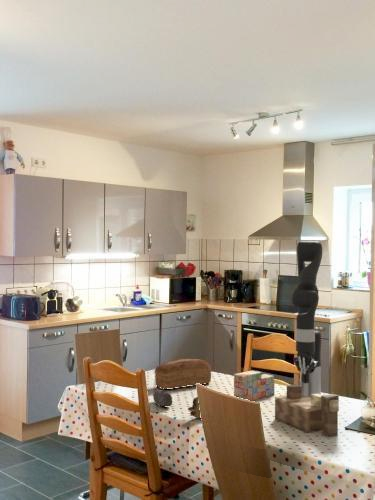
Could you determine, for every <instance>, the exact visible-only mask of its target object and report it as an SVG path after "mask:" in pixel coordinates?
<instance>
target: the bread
mask: <svg viewBox="0 0 375 500" xmlns="http://www.w3.org/2000/svg"><path fill="white" fill-rule="evenodd" d="M154 377H155V378H154V380H155V386H156V385H157V386H158V387H157V386H156V387H157V388H159V387H161V388H164V389H167V388H175V387H182V386H187V385H195V384H196V383H200V384H204V383H208V384H210V383H211V381H212V380H211V379H212V367H211V365H210V364H209V363H208V362H207V361H206V360H203V359H201V358H198V359H197V358H180V359H179V358H178V359H176V360H171V361H167V362H164V363H161V364H159V365H157V366H156V367H155V370H154ZM209 382H210V383H209ZM204 385H205V384H204ZM164 389H163V390H164Z"/></svg>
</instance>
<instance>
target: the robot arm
mask: <svg viewBox="0 0 375 500" xmlns="http://www.w3.org/2000/svg"><path fill="white" fill-rule="evenodd" d="M322 258H323V244H322V243H321V242H320V241H316V240H314V241H313V240H301V241H299V242H297V246H296V262H297V263H296V264H297V286H296V287H295V289H294V290H293V293H292V296H291V303H292V305H293V307H295V308H297V315H296V329H295V330H296V331H295V351H296V352H297V353H296V356H295V357H293V359H292V360H293V363H294V364H295V367H296V368H297V371H298V372H299V375H300V377H299V378H300V379H299V381H298V385H300V386H302V395H304V396H307V397H309V398H311V394H315V393H317V394H320V395H322V390H321V389H322V388H321V387H322V381H321V380H322V379H321V377H322V375H321V374H322V371H321V369H322V367H321V365H322V364H321V363H322V361H321V360H322V358H321V356H322V355H321V353H322V352H321V351H322V334H321V331H319V330H315V316H316V315H315V314H316V310H317V307H318V305H319V299H320V297H319V288H318V286H317V285H316V284H317V276H318V273H319V269H320V267H321V264H322V263H321V262H322ZM307 262H308V263H309V264H307V266H306V263H307Z"/></svg>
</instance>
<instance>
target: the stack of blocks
mask: <svg viewBox="0 0 375 500" xmlns="http://www.w3.org/2000/svg"><path fill="white" fill-rule="evenodd" d="M233 380H234V381H233V397H234V396H236V397H239V398H243V399H248V400H251V401H254V399H255V400H258V399H257V398H259V399H261V398H260V397H263V398H265V397H264V396H267V397H270V396H269V395H271V396H273V395H272V394H274V395H275V376H274V375H272V374H266V373H263V374H262V372H261V371H256V370H248V371H243V372H239V373H234V374H233Z"/></svg>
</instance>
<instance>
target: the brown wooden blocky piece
mask: <svg viewBox="0 0 375 500" xmlns="http://www.w3.org/2000/svg"><path fill="white" fill-rule="evenodd" d="M322 395H323V394H322ZM329 399H336V400H339V395H338V394H334V393H330V394H324V395H323V396H321V410H316V411H310V412H305V411H303V410H300V409H298V408H295V407H292V406H290V405H287V404H285V403H282V402H280V401H277V400H275V399H274V420H275V421H278V422H281V423H282V424H285V425H287V426H290V427H292V428H295V429H297V430H300V431H302V432H303V433H306V434H309V433H313V432H318V431H322V432H321V435H322V436H324V437H326V438H330V437H335V436H338V435H339V434H338V431H339V429H338V428H339V424H338V422H339V421H338V418H339V417H338V415H339V413H338V412H339V411H336V412H331V411H329ZM339 401H340V400H339Z"/></svg>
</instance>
